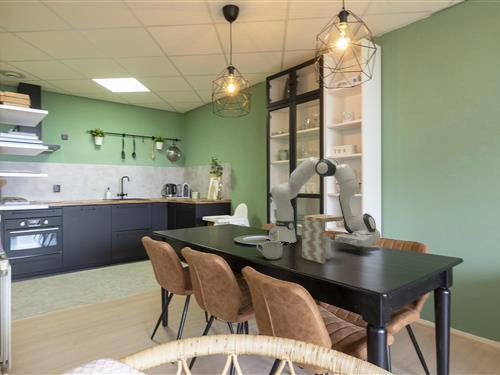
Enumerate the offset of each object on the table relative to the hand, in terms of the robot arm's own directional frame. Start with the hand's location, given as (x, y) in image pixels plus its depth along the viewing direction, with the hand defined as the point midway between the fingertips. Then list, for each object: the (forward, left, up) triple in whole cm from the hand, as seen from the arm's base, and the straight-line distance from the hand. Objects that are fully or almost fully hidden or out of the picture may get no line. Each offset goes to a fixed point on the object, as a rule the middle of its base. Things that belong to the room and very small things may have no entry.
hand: (342, 241), depth 167 cm
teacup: (-17, -37, -7) cm, 41 cm away
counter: (0, -16, -7) cm, 18 cm away
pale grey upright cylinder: (0, -14, -7) cm, 16 cm away
